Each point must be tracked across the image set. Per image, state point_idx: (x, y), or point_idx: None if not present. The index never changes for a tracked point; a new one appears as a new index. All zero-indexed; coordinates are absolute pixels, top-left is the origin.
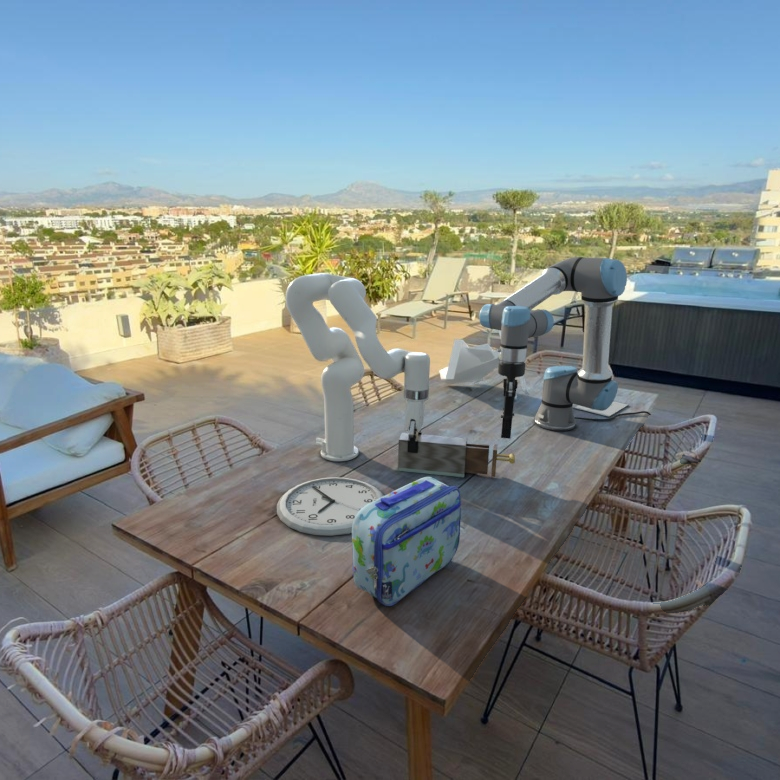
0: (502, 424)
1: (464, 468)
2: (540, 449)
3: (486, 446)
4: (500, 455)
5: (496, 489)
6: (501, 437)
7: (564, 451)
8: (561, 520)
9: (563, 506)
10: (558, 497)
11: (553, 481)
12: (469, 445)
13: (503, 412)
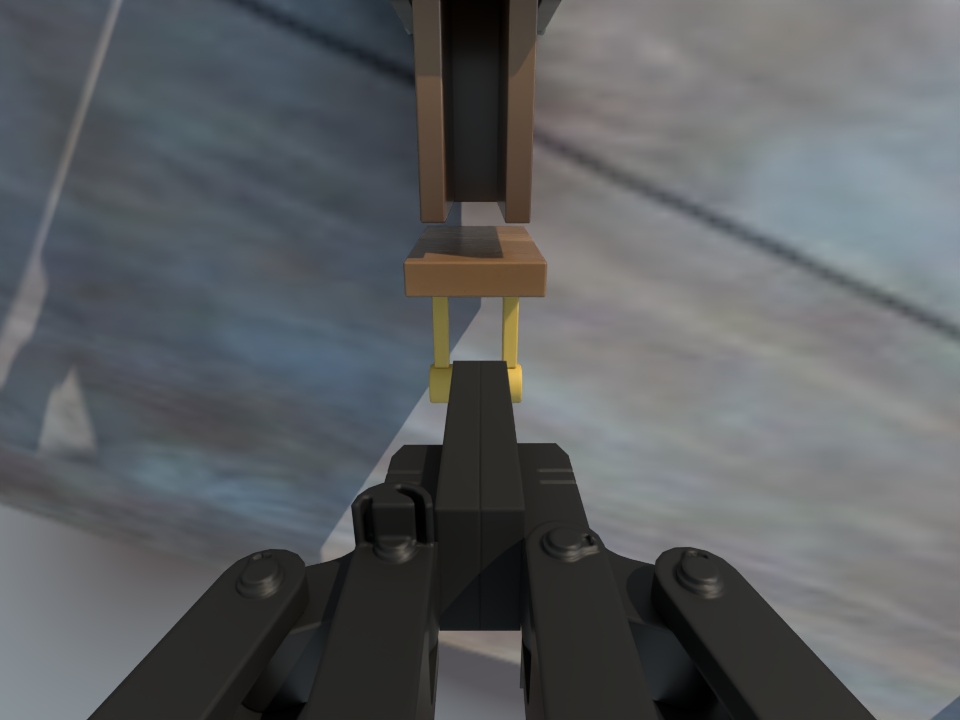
0: (443, 442)
1: (399, 17)
2: (878, 493)
3: (504, 195)
4: (503, 305)
5: (314, 257)
6: (454, 364)
7: (848, 591)
8: (134, 525)
9: (259, 541)
10: (335, 531)
11: None
12: (507, 5)
13: (551, 556)
